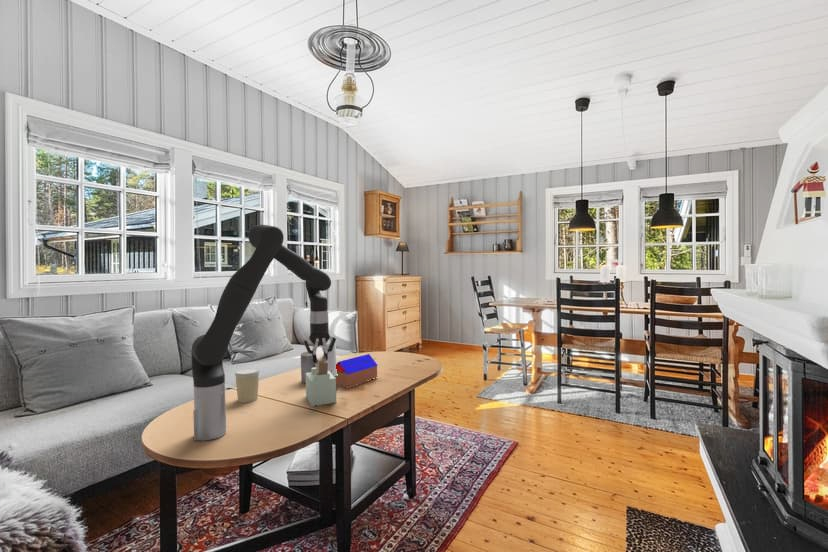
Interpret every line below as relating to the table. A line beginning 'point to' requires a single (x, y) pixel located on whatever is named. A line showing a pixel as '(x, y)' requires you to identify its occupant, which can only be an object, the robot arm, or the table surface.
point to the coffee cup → (247, 384)
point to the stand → (320, 388)
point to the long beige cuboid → (321, 362)
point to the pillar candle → (306, 365)
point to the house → (355, 370)
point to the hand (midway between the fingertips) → (320, 362)
